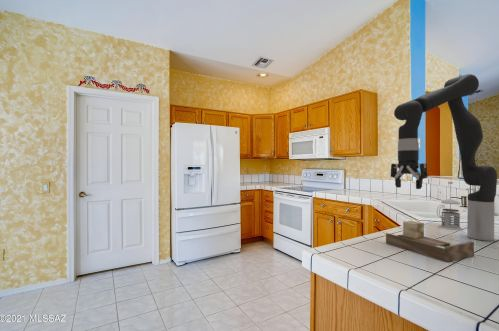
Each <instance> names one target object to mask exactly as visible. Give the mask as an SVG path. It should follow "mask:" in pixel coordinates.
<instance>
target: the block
mask: <svg viewBox="0 0 499 331" xmlns="http://www.w3.org/2000/svg"><path fill="white" fill-rule="evenodd" d="M402 234H403V235H404V236H408V237H412V238H415V239H416V238H422V237H425V223H423V222H420V221H416V220H415V221H414V220H406V221H403V222H402Z"/></svg>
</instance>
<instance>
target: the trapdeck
mask: <svg viewBox="0 0 499 331" xmlns="http://www.w3.org/2000/svg"><path fill="white" fill-rule="evenodd" d="M385 243H386V244H388V245H391V246H395V247H398V248H402V249H404V250H408V251H412V252H415V253H418V254H421V255H423V256H427V257H429V258H430V257H431V258H434V259H437V260H440V261H443V262H446V263H449V262H453V261H458V260H462V259H463V260H464V259H466V258H471V257H475V242H474V241H468V242H462V243H457V244H452V245H451V244H450V242H447V241H443V240H439V239H435V238H430V237H428V236H424V237H422V238H416V239H415V238H412V237H408V236H404V235H403V233H402V234H397V235H395V234H391V233H387V232H386V233H385Z"/></svg>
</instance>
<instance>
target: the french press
mask: <svg viewBox="0 0 499 331" xmlns="http://www.w3.org/2000/svg"><path fill="white" fill-rule="evenodd" d="M447 183H448V184H450V186H449V187H450V188H449V189H450V192H449V196H450V198H449V199H445V200H442V201H441V203H442V204H440V205H439V206H438V207H437V209H436V214H437V216H439V218H440V219H441V224H440V225H439V226H440V227H439V228H441V229H446V230H450V231H461V230H462V231H463V229H462V227H461V226H460V225H461V224H460V223H461V221H460V220H461V217H460V216H461V214H460V213H459V212H460V210H459V209H455V208H454V209H453V208H451V206H452V205H460V204H461V202H460V201H457V200H455V199H452V198H451V197H452V194H451V193H452V185H453V184H454V182H453V181H448V182H447ZM444 204H445V205H448V204H449V205H450V206H449V208H445V207H446V206H445V205H444ZM439 207H440V208H439ZM441 208H442V211H441ZM440 211H441V212H440ZM438 212H439V213H438Z"/></svg>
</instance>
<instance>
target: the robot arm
mask: <svg viewBox="0 0 499 331" xmlns="http://www.w3.org/2000/svg"><path fill="white" fill-rule="evenodd" d="M479 85H480V82H479V79H478V77H477V76H476V75H474V74H470V73H467V74H463V75H460V76H455V77H454V78H450V79H448V80H447V81H445V83H444V85H443V87H442V88H438V89H436V90H433V91H430V92H427V93H424V94H423V95H421V96H418V97H417V98H415V99H412V100H409V101H406V102H403V103H400V104H399V105H397V106H396V108H395V109H394V111H393V115H394V117H395V119H397V120H399V121H405V122H404V124H402V125H401V126H399V127H398V134H397V135H398V139H397V140H398V141H397V161H398V163H391V165H390V177H391V178H394V179H395V181H394V182H395V183H394V186H395V187H396V188H401V187H402V180H401V178H402V177H403V175H404V174H405V175H407V174H408V175H412V176H413V177H414V178H415V189H416V190H421V189H422V188H423V180H424V179H428V167H427V165H428V164H427V163H425V162H424V163H419V159H420V158H419V157H420V156H419V152H420V151H419V147H420V144H419V126H420V123H421V119H422V116H423V113H426V112H429V111H430V110H433V109H435V108H437V107H439V106H442V105H443V104H446V103H447V104H448V107H449V111H450V114H451V118H452V121H453V128H454V133H455V136H456V137H455V138H456V140H457V144H458V145H457V146H458V149H459V150H458V151H459V155H460V162H461V164H460V165H461V174H462V178H463V181H464V183H465V184H466V185H469V186H474V187H479V189H478V190H477V191H475V192H471V193H468V194H467V226H466V227H467V229H466V230H467V235H466V236H467V237H468V238H470V239H474V240H480V241H484V242H485V241H487V242H488V241H489V242H491V241H495V198H496V195H497V185H498V184H497V183H498V172H497V170H496V168H494V167H493V166H489V165H477V164H476V154H477V151H478V149H479V147H480V145H481V144H482V142H483V138H484V134H483V129H482V124H481V122H480V121H479V119H478V118H477V117H476V115H474V114H473V113H471V111H469V110H468V109H467V108H466V106H465V103H464V100H463V97H467V96H471V95H473V94H475V93H476V92H477V90H478V89H479ZM418 169H419V170H420V171H419V170H418Z"/></svg>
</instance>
